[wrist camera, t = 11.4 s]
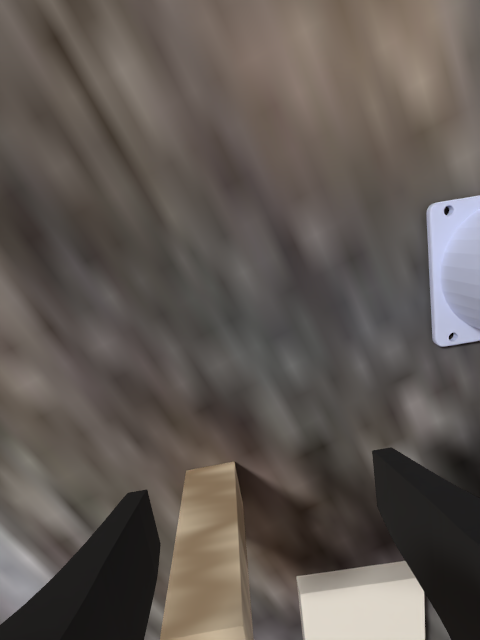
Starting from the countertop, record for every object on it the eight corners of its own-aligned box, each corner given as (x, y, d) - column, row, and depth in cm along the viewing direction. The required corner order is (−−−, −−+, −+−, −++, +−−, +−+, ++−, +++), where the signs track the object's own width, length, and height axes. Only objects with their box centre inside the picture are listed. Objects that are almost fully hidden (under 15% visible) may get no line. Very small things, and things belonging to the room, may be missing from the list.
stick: (234, 461, 23) (243, 625, 13) (242, 503, 24) (257, 688, 14) (186, 470, 23) (159, 641, 13) (196, 512, 24) (177, 703, 14)
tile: (423, 576, 24) (425, 672, 26) (410, 553, 26) (412, 644, 28) (300, 594, 24) (310, 689, 26) (295, 569, 26) (304, 660, 27)
